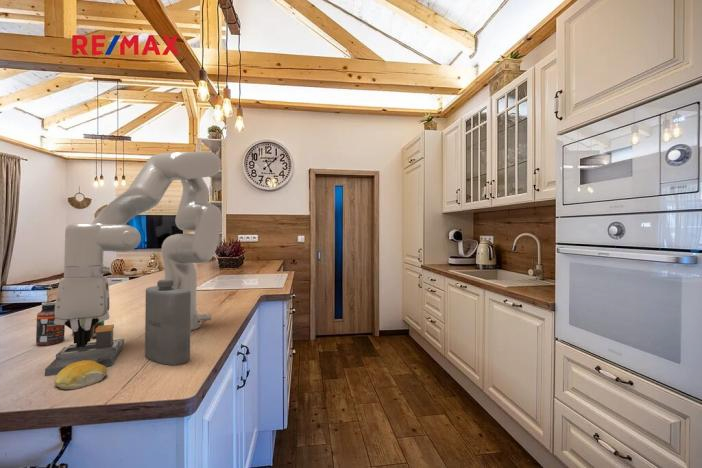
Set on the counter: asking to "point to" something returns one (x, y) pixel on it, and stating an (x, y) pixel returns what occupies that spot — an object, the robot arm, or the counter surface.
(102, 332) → the lever
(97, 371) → the bread roll
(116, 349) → the panel
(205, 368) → the counter surface
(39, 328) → the supplement bottle
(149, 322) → the flask
